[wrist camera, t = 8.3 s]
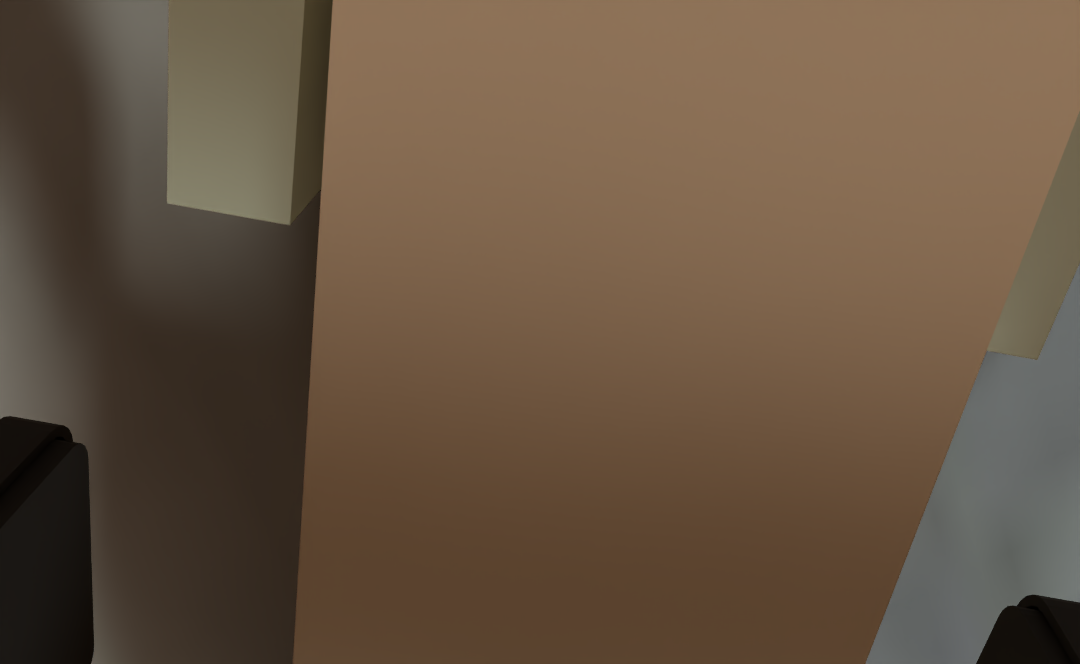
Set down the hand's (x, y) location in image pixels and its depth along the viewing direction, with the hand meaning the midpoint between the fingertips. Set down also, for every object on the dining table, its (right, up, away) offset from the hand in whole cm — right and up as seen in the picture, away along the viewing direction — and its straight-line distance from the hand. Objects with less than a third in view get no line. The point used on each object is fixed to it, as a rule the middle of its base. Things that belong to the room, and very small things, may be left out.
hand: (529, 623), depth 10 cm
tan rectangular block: (+1, +4, +1) cm, 4 cm away
